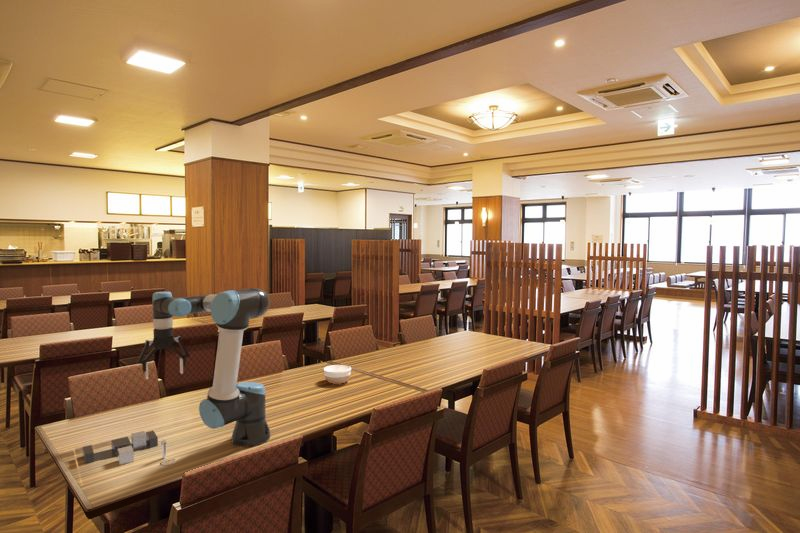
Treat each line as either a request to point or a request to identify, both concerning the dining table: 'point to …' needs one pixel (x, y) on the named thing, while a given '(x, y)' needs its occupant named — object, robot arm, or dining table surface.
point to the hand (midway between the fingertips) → (164, 376)
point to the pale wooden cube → (125, 455)
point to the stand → (165, 454)
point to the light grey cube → (138, 440)
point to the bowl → (337, 373)
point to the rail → (116, 444)
